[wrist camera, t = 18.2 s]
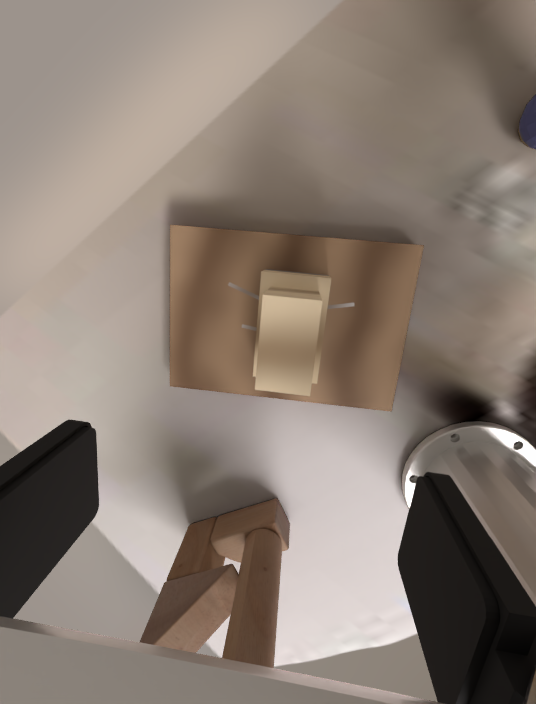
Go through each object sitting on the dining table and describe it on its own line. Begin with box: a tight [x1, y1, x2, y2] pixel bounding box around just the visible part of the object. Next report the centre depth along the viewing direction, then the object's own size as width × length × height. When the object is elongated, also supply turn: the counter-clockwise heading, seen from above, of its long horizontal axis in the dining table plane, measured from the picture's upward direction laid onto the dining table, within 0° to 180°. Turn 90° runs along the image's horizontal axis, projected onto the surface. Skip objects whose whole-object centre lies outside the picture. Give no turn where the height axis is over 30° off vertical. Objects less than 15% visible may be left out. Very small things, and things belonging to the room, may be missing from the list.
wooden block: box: [140, 499, 290, 668], centre depth 30 cm, size 4×11×18 cm, turn 114°
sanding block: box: [253, 269, 331, 396], centre depth 26 cm, size 8×5×9 cm, turn 175°
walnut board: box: [170, 225, 424, 411], centre depth 31 cm, size 20×14×2 cm
